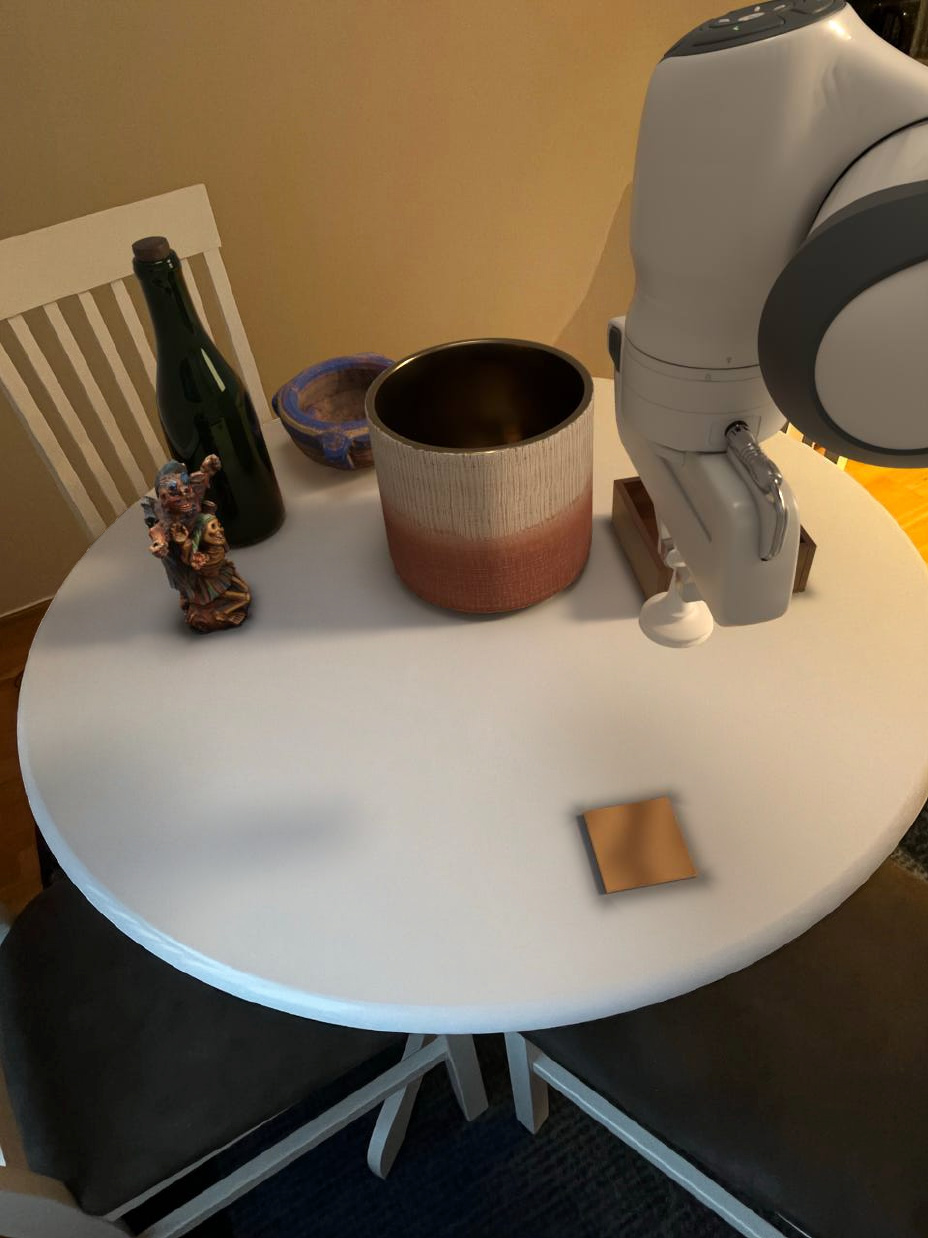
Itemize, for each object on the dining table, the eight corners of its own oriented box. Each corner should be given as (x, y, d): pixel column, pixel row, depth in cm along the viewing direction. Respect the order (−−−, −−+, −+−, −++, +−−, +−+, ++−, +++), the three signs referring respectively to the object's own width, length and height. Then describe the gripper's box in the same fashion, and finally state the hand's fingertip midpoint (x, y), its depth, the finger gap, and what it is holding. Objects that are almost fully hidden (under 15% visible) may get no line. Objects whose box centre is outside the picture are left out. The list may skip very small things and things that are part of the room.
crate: (744, 501, 95) (752, 457, 91) (804, 590, 84) (817, 545, 80) (611, 522, 94) (613, 479, 90) (654, 616, 83) (659, 571, 79)
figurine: (284, 628, 86) (237, 485, 74) (198, 661, 84) (135, 519, 71) (255, 570, 93) (208, 431, 81) (175, 599, 91) (114, 460, 78)
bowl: (324, 512, 100) (306, 441, 93) (273, 445, 112) (254, 378, 105) (454, 462, 106) (446, 391, 99) (392, 403, 117) (382, 336, 110)
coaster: (666, 799, 68) (667, 796, 68) (696, 876, 63) (697, 874, 63) (583, 814, 68) (583, 811, 67) (606, 893, 63) (606, 891, 62)
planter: (629, 579, 87) (642, 410, 73) (434, 650, 82) (408, 482, 68) (536, 474, 102) (532, 316, 88) (366, 528, 97) (333, 370, 83)
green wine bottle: (234, 489, 105) (142, 216, 82) (303, 505, 102) (227, 223, 79) (182, 539, 99) (66, 257, 76) (254, 558, 95) (155, 267, 72)
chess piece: (667, 587, 59) (680, 469, 52) (727, 620, 56) (750, 499, 49) (623, 625, 57) (631, 506, 50) (684, 660, 54) (701, 540, 47)
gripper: (858, 481, 37) (798, 687, 46) (699, 295, 51) (679, 481, 61) (719, 503, 36) (688, 706, 46) (599, 310, 51) (594, 494, 61)
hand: (682, 576), depth 54 cm, fingers closed on chess piece
